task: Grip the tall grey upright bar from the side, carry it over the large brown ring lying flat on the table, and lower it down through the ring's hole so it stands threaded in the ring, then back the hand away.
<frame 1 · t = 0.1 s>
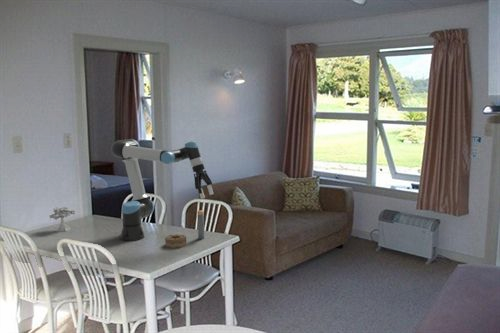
hand: (207, 196, 311), 28 cm above the table, tool tilted 20°, fingers open, 13 cm apart
grey branching stemmed part: (63, 230, 340), on the table
brown ring: (175, 244, 301), on the table
grey upright bar: (201, 238, 315), on the table
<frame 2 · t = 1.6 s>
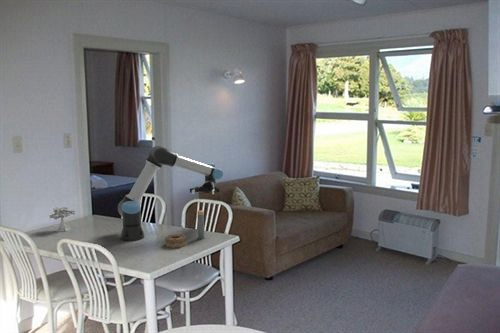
hand: (202, 192, 320), 28 cm above the table, tool horizontal, fingers open, 13 cm apart
nothing on the table moved.
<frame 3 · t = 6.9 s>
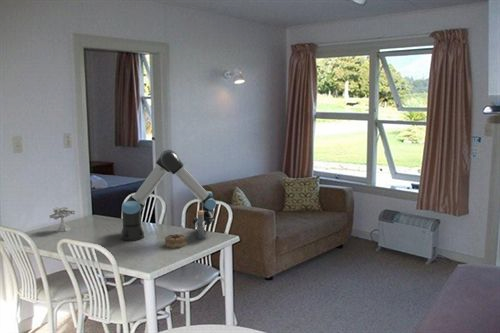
hand: (199, 225, 308), 10 cm above the table, tool horizontal, fingers closed on grey upright bar, 4 cm apart
grey upright bar: (201, 238, 315), on the table, touching gripper
everything else where it was.
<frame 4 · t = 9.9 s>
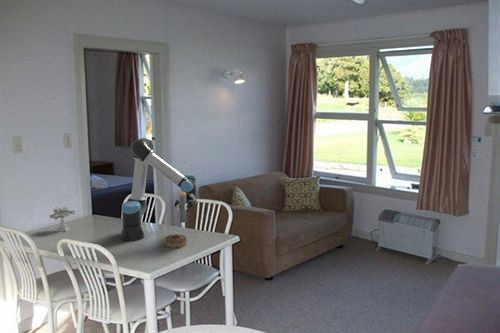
hand: (181, 207, 295), 24 cm above the table, tool horizontal, fingers closed on grey upright bar, 4 cm apart
grey upright bar: (183, 221, 302), point 14 cm above the table, touching gripper
everything else where it was.
when the fingers open (11 cm above the table, at t = 13.2 s): grey upright bar drops 1 cm, resting in brown ring.
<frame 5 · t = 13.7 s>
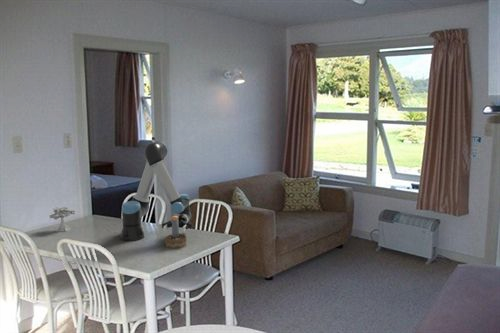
hand: (173, 229, 296), 11 cm above the table, tool horizontal, fingers open, 11 cm apart
grey upright bar: (175, 244, 301), resting in brown ring
everything else where it was.
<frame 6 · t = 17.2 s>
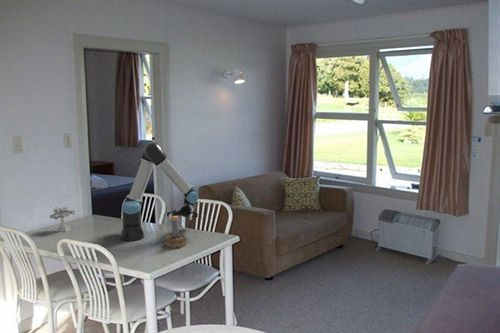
hand: (179, 217, 309), 15 cm above the table, tool horizontal, fingers open, 13 cm apart
nothing on the table moved.
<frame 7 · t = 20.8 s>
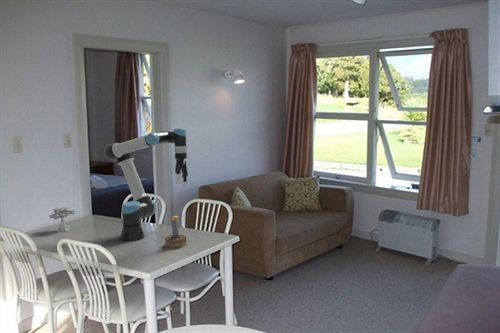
hand: (181, 185, 313), 35 cm above the table, tool pointing down, fingers open, 13 cm apart
nothing on the table moved.
at the end: grey upright bar 0.0 cm from the brown ring (horizontally); grey upright bar resting in brown ring; the gripper is holding nothing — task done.
